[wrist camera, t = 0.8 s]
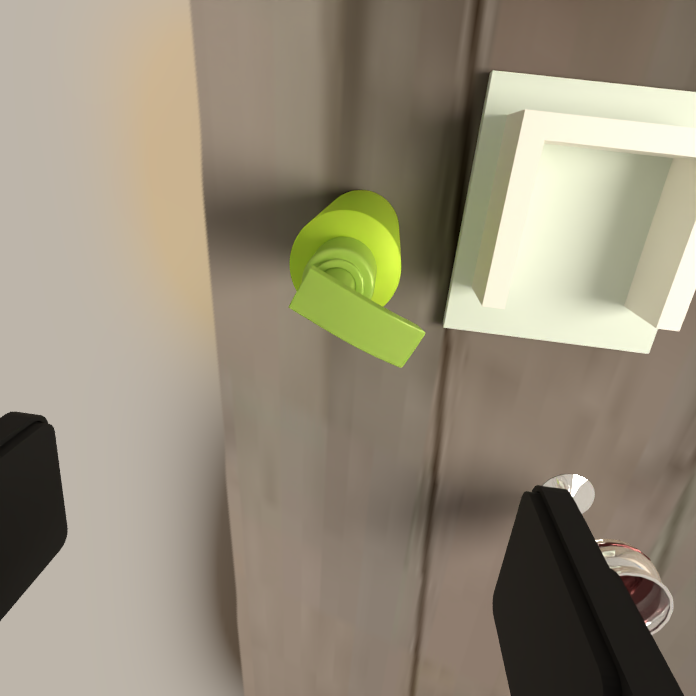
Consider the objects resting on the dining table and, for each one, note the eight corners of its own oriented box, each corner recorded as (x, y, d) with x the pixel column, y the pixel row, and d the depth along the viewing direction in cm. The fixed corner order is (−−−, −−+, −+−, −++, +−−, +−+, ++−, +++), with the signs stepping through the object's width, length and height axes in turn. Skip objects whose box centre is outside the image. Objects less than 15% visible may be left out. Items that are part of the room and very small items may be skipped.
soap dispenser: (385, 287, 40) (376, 409, 21) (309, 243, 39) (231, 329, 20) (425, 223, 37) (456, 295, 19) (346, 174, 37) (297, 200, 18)
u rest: (490, 72, 33) (509, 57, 28) (732, 98, 33) (801, 88, 27) (442, 323, 40) (450, 351, 35) (642, 349, 40) (683, 381, 34)
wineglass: (540, 534, 47) (584, 652, 36) (518, 478, 45) (558, 586, 34) (613, 514, 46) (683, 632, 34) (594, 456, 44) (662, 561, 32)
